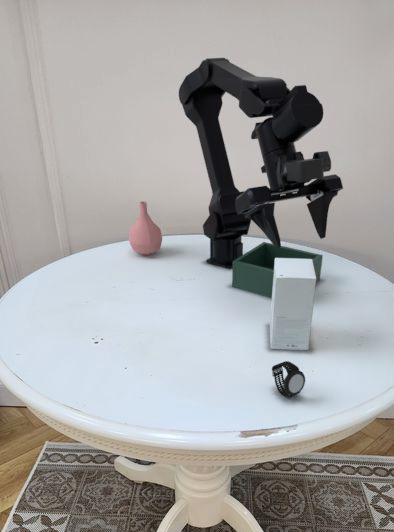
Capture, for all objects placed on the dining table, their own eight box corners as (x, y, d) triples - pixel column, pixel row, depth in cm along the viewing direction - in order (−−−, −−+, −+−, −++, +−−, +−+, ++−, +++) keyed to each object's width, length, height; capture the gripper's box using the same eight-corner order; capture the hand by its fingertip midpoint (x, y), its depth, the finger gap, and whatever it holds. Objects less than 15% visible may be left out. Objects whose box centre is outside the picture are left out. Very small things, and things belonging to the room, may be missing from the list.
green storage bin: (231, 286, 108) (232, 261, 105) (262, 265, 117) (263, 241, 114) (292, 303, 102) (294, 276, 99) (319, 280, 110) (322, 255, 107)
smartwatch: (279, 405, 76) (281, 376, 73) (268, 384, 80) (270, 356, 77) (307, 401, 76) (310, 372, 74) (295, 380, 81) (298, 353, 78)
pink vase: (154, 244, 129) (151, 195, 122) (169, 255, 123) (166, 203, 117) (124, 251, 126) (120, 201, 119) (138, 262, 120) (134, 210, 114)
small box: (309, 351, 87) (317, 278, 80) (270, 349, 88) (275, 277, 81) (305, 326, 94) (312, 257, 87) (269, 325, 95) (273, 256, 88)
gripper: (253, 139, 80) (279, 240, 81) (351, 127, 87) (374, 220, 88) (223, 167, 91) (246, 256, 91) (313, 154, 97) (334, 238, 98)
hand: (301, 242), depth 92 cm, fingers open, 9 cm apart
